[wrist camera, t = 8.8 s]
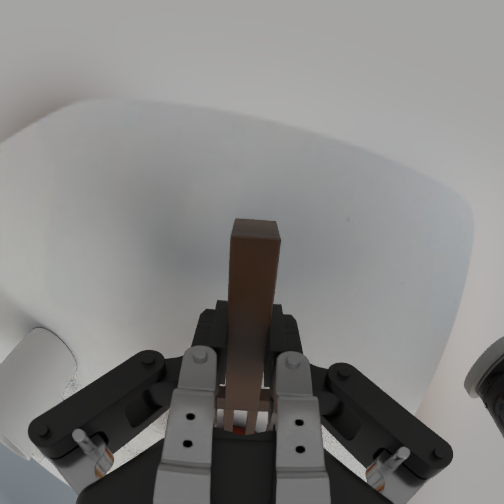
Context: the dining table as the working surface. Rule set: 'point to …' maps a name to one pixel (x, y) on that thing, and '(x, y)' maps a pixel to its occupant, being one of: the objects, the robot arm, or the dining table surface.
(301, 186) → the dining table surface
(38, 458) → the mug
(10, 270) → the dining table surface
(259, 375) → the fork
